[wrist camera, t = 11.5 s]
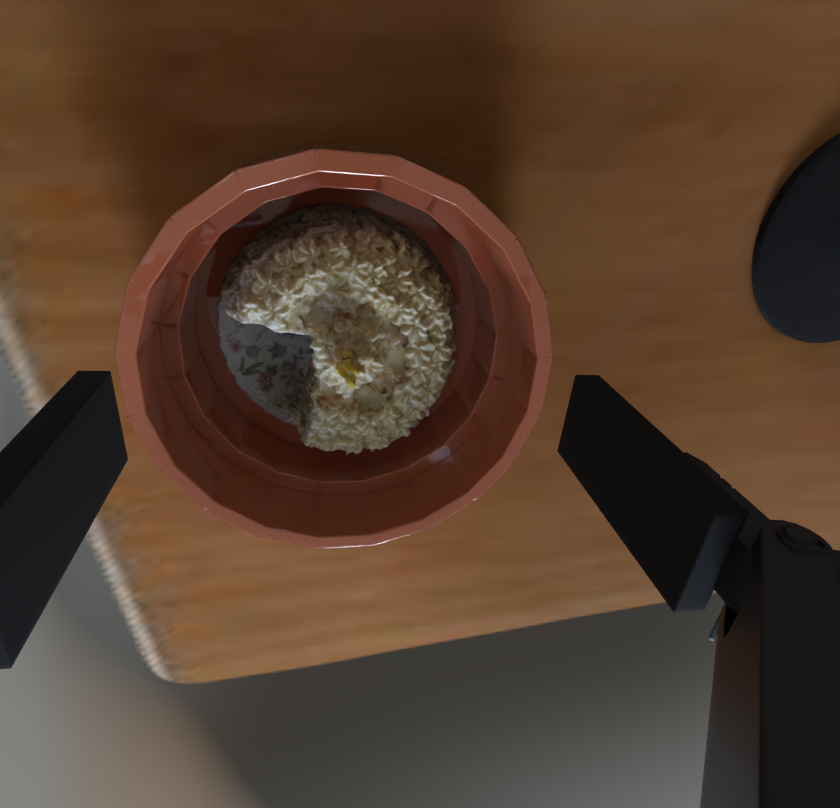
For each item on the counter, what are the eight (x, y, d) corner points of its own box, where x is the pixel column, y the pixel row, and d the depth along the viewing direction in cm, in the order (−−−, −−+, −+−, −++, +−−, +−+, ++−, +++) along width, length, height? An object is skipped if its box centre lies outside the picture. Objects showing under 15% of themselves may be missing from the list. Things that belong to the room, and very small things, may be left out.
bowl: (140, 127, 19) (71, 127, 13) (524, 160, 21) (592, 172, 16) (186, 468, 25) (152, 558, 20) (477, 460, 28) (516, 538, 22)
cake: (387, 152, 20) (420, 152, 16) (486, 362, 25) (534, 410, 20) (161, 282, 20) (126, 320, 16) (303, 467, 25) (309, 539, 20)
